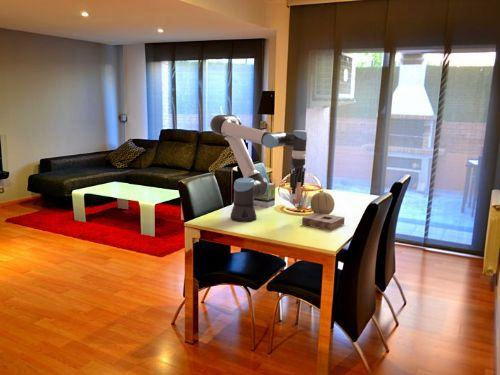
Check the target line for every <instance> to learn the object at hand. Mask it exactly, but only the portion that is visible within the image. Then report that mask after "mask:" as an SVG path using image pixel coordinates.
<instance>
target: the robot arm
mask: <svg viewBox="0 0 500 375" xmlns="http://www.w3.org/2000/svg"><path fill="white" fill-rule="evenodd" d="M210 129H211V131H212V133H214V134H216V135H220V136H222V137H223V139H224V140H226V141H227V142H228V144H229V146H230V148H231V151H232V153H233V155H234V158H235V160H236V162H237V164H238V167H239V169H240V172H241V173H242V176H243V177H240V178H237V179H235V181H234V182H233V183H234V184H233V207H232V209H231V212H230V221H231V220H232V221H234V222H239V223H249V222H255V221H256V220H257V213H256V209H255V205H254V198H257V197H261V196H263V195H265V194H266V193H267V191H268V188H269V184H268V183H269V181H268V179H267V178H266V177H264V176H262V173H261V172H260V171H257V168H256V166H255V164H254V162H253V159H252V157H251V155H250V152H249V151H248V148H247V146H246V143H245V141H248V142H251V143H256V144H259V145H263V146H264V147H265V148H269V149H274V148H278V147H290V148H291V147H292V150H291V151H292V152H291V157H292V158H291V165H292V166H293V167H292V169H290V170H289V175H290V176H289V187H290V188H291V199H292V200H293V199H295V200H296V197H297V188H296V186H297V182H301V186H300V199H301V198H302V188H304V185H305V177H306V176H305V173H306V170H307V169H306V167H304V166H305V165H306V155H307V153H306V152H307V142H308V137H307V136H308V135H307V134H308V133H307V131H306V130H303V129H294V130H293V132H284V131H283V132H282V131H275V132H274V133H273V132H269V131H265V130H262V129H258V128H254V127H251V126H247V125H243V123H242V120H241V119H240V117H239V116H237V115H235V114H217V115H215V116H214V117H213V118H211V121H210ZM244 140H245V141H244Z"/></svg>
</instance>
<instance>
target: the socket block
mask: <svg viewBox="0 0 500 375" xmlns="http://www.w3.org/2000/svg"><path fill="white" fill-rule="evenodd" d="M345 220H346V219H345V217H344V216H340V215H339V216H338V215H334V214H333V215H332V214H324V213H318V212H316V213H314V212H313V213H310V214H308V215H306V216H303V217H302V221H301V224H302V225H304V226H309V227H313V228H317V229H318V228H319V229H322V230H323V229H324V230H326V231H327V230H328V231H333V230H336V229H337V228H339V227H341V226H344V225H345Z"/></svg>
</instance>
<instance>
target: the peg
mask: <svg viewBox="0 0 500 375" xmlns="http://www.w3.org/2000/svg"><path fill="white" fill-rule="evenodd" d="M300 186H301V182H297V186H296V188H297V197H296V200H295V199H292V204H297V205H298V204H300V202H301V201H300V199H301V198H300Z"/></svg>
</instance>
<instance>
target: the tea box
mask: <svg viewBox="0 0 500 375" xmlns="http://www.w3.org/2000/svg"><path fill="white" fill-rule="evenodd" d="M268 184H269V188H268V191H267V193H266V194H265V195H263V196H261V197H257V198H254V206H257V207H264V208H270V207H273V206H275V204H276V183H271V182H268Z"/></svg>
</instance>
